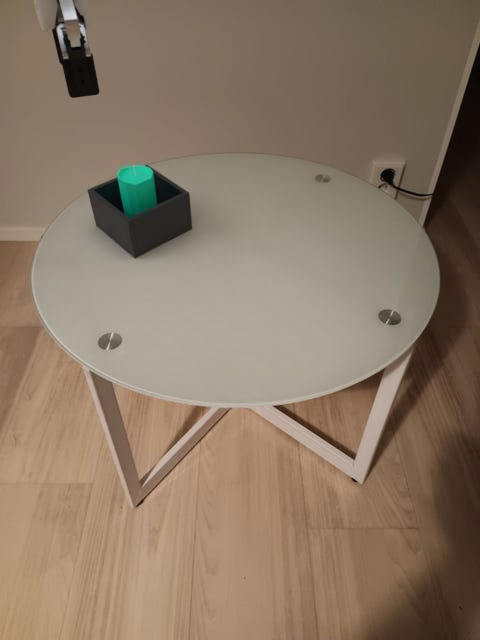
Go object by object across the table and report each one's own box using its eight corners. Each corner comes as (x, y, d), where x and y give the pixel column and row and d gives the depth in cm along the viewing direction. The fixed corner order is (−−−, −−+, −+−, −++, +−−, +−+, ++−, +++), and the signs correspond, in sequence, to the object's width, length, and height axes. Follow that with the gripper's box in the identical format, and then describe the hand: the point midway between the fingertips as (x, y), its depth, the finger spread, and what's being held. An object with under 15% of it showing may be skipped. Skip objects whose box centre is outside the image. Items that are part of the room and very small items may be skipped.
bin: (134, 258, 87) (127, 221, 82) (95, 225, 94) (87, 189, 88) (192, 228, 93) (189, 192, 87) (152, 199, 99) (147, 164, 94)
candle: (120, 230, 92) (108, 170, 83) (137, 212, 95) (127, 153, 87) (149, 237, 90) (140, 177, 81) (165, 219, 94) (158, 159, 85)
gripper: (-9, -129, 50) (38, 55, 63) (-6, -104, 39) (52, 115, 51) (68, -131, 52) (100, 49, 64) (93, -108, 41) (126, 105, 53)
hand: (78, 78), depth 58 cm, fingers open, 9 cm apart
